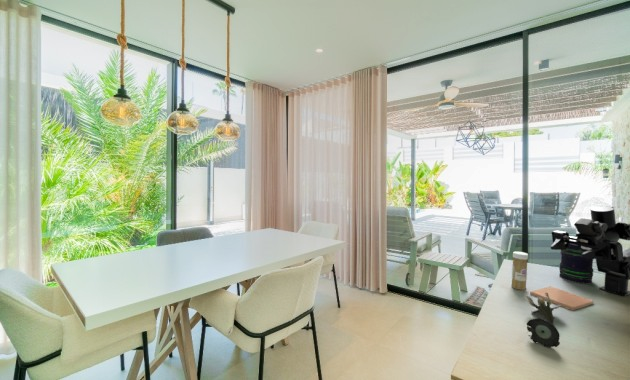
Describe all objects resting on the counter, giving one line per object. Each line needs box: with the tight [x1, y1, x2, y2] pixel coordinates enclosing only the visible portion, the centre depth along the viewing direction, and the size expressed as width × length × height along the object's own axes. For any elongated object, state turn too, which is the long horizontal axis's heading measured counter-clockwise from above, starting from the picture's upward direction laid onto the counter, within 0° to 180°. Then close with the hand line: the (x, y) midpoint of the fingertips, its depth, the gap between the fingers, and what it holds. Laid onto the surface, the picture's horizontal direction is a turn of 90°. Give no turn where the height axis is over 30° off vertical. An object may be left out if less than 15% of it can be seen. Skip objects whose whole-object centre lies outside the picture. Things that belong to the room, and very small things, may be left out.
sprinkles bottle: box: [510, 251, 529, 291], centre depth 100 cm, size 5×5×13 cm
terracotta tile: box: [529, 286, 594, 311], centre depth 91 cm, size 12×12×1 cm
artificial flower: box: [525, 293, 563, 348], centre depth 75 cm, size 9×22×10 cm, turn 132°
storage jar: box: [559, 243, 594, 285], centre depth 108 cm, size 10×10×15 cm
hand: (566, 251), depth 90 cm, fingers open, 9 cm apart
